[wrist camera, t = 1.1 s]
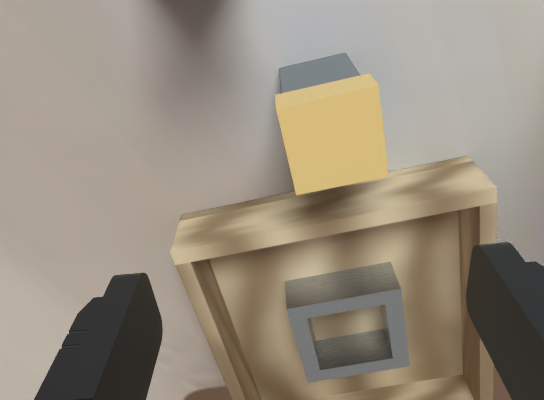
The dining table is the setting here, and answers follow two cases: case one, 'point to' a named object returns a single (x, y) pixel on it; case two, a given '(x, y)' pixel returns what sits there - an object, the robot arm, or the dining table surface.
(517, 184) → the dining table surface
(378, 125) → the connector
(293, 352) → the walled box
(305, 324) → the frame
